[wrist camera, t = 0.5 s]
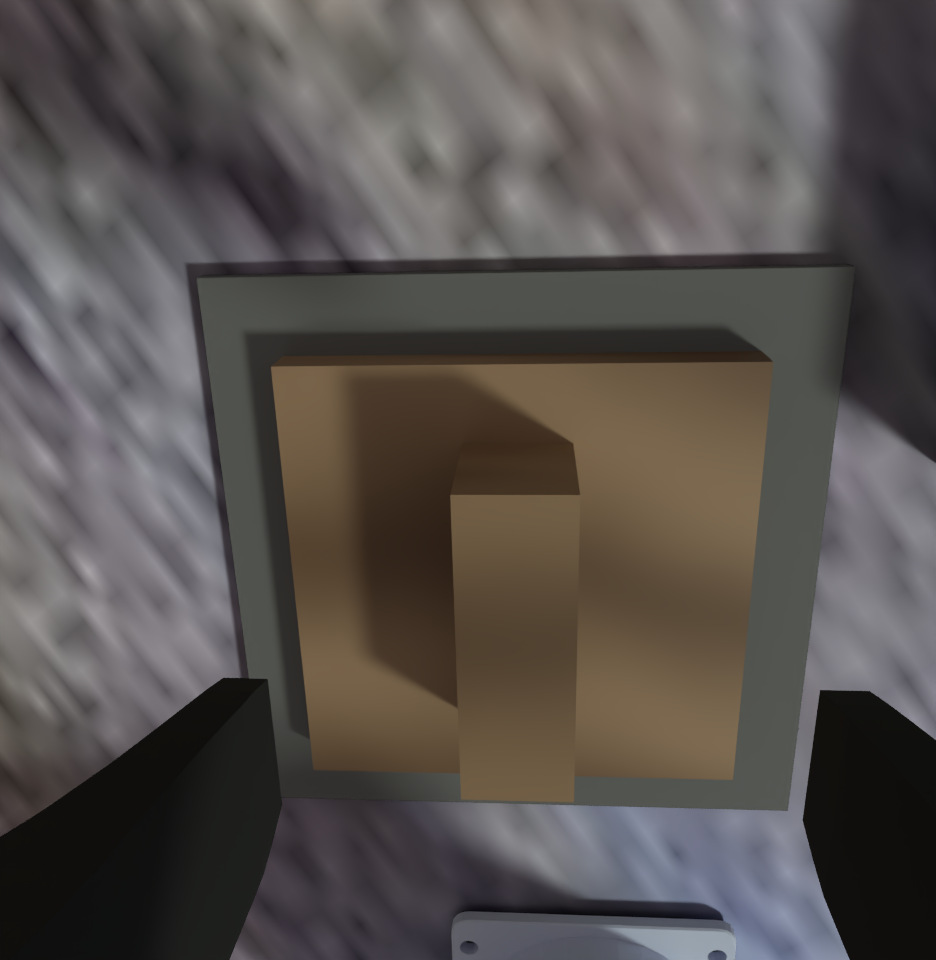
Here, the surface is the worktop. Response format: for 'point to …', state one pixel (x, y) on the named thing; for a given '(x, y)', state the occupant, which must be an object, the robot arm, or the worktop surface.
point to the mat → (523, 330)
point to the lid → (523, 561)
